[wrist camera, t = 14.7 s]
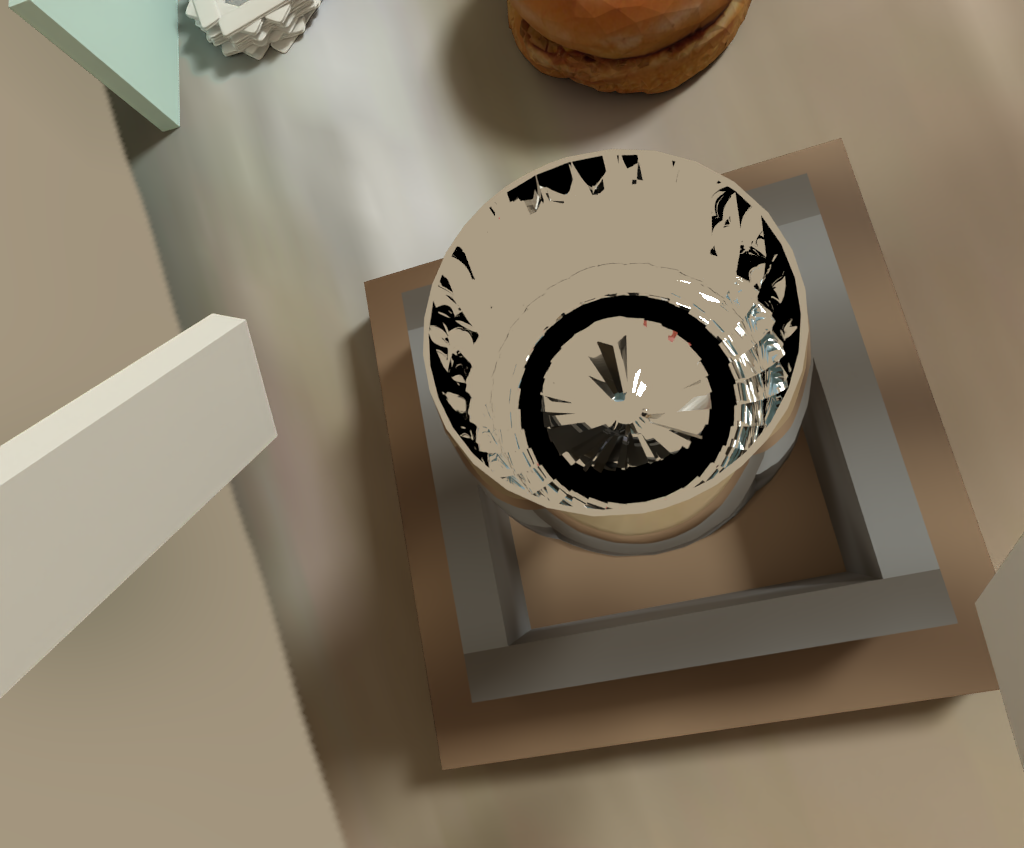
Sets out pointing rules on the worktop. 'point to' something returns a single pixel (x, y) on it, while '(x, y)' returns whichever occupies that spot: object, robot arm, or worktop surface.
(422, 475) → the socket base
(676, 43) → the burger
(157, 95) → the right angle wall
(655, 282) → the wineglass
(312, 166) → the worktop surface
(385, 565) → the worktop surface
